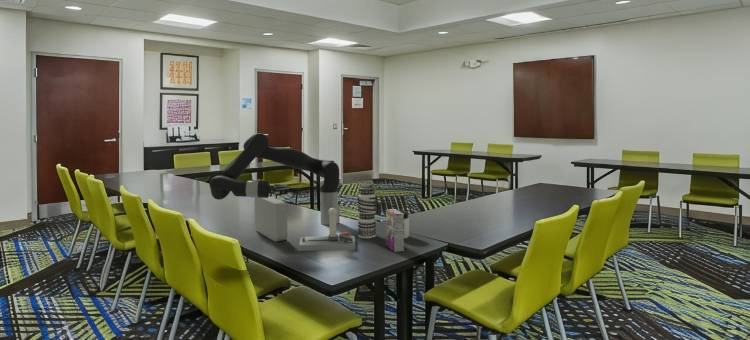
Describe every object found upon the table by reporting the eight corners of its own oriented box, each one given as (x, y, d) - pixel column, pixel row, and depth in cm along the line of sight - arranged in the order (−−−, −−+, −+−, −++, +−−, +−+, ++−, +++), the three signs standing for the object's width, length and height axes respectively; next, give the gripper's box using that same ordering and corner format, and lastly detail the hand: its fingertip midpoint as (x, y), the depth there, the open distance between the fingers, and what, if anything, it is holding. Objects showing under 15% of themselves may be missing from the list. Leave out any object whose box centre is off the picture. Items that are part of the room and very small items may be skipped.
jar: (388, 238, 220) (388, 213, 219) (393, 234, 228) (392, 209, 227) (407, 239, 218) (407, 214, 216) (410, 235, 225) (411, 210, 224)
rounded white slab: (292, 240, 218) (291, 202, 216) (276, 242, 214) (275, 204, 211) (269, 228, 241) (268, 193, 239) (255, 230, 237) (254, 195, 235)
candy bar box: (385, 245, 208) (385, 209, 206) (396, 244, 209) (396, 208, 207) (393, 252, 197) (393, 214, 195) (404, 251, 199) (404, 213, 197)
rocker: (351, 240, 206) (352, 237, 206) (351, 242, 203) (352, 239, 203) (338, 236, 206) (339, 233, 206) (338, 239, 202) (339, 235, 202)
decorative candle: (374, 233, 230) (374, 182, 227) (378, 238, 221) (378, 185, 218) (356, 234, 228) (355, 183, 225) (359, 239, 219) (358, 186, 216)
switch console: (354, 241, 216) (354, 232, 215) (355, 249, 202) (355, 240, 201) (301, 242, 214) (301, 233, 214) (298, 251, 200) (298, 241, 200)
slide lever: (337, 237, 210) (337, 206, 208) (337, 240, 206) (337, 208, 204) (328, 237, 210) (328, 206, 208) (328, 240, 205) (327, 208, 204)
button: (346, 235, 214) (345, 231, 214) (351, 237, 212) (351, 232, 212) (339, 237, 212) (339, 232, 212) (345, 238, 209) (345, 234, 209)
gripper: (255, 183, 196) (297, 185, 197) (260, 177, 209) (299, 178, 210) (255, 201, 197) (296, 202, 199) (260, 193, 210) (299, 195, 212)
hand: (298, 190), depth 204 cm, fingers closed
